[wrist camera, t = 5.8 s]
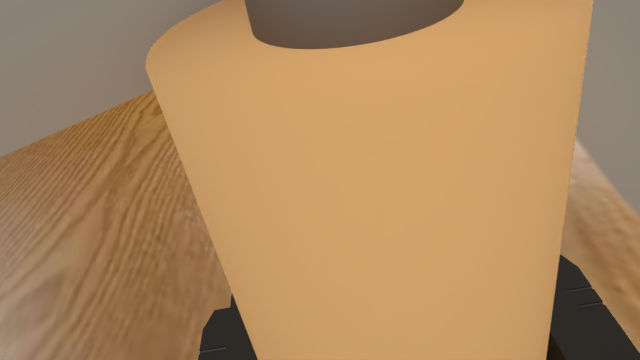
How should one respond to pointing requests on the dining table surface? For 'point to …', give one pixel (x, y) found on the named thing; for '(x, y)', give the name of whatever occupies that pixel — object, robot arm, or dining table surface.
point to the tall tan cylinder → (381, 168)
